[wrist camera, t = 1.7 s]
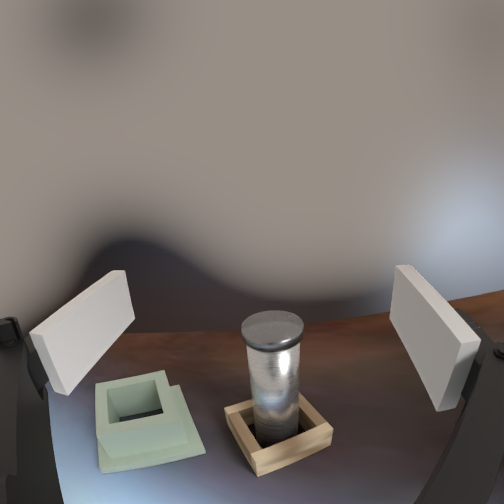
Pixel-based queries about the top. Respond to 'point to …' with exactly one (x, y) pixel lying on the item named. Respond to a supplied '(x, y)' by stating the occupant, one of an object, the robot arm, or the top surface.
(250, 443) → the mount
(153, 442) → the socket
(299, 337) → the silver capped cylinder
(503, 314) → the top surface
